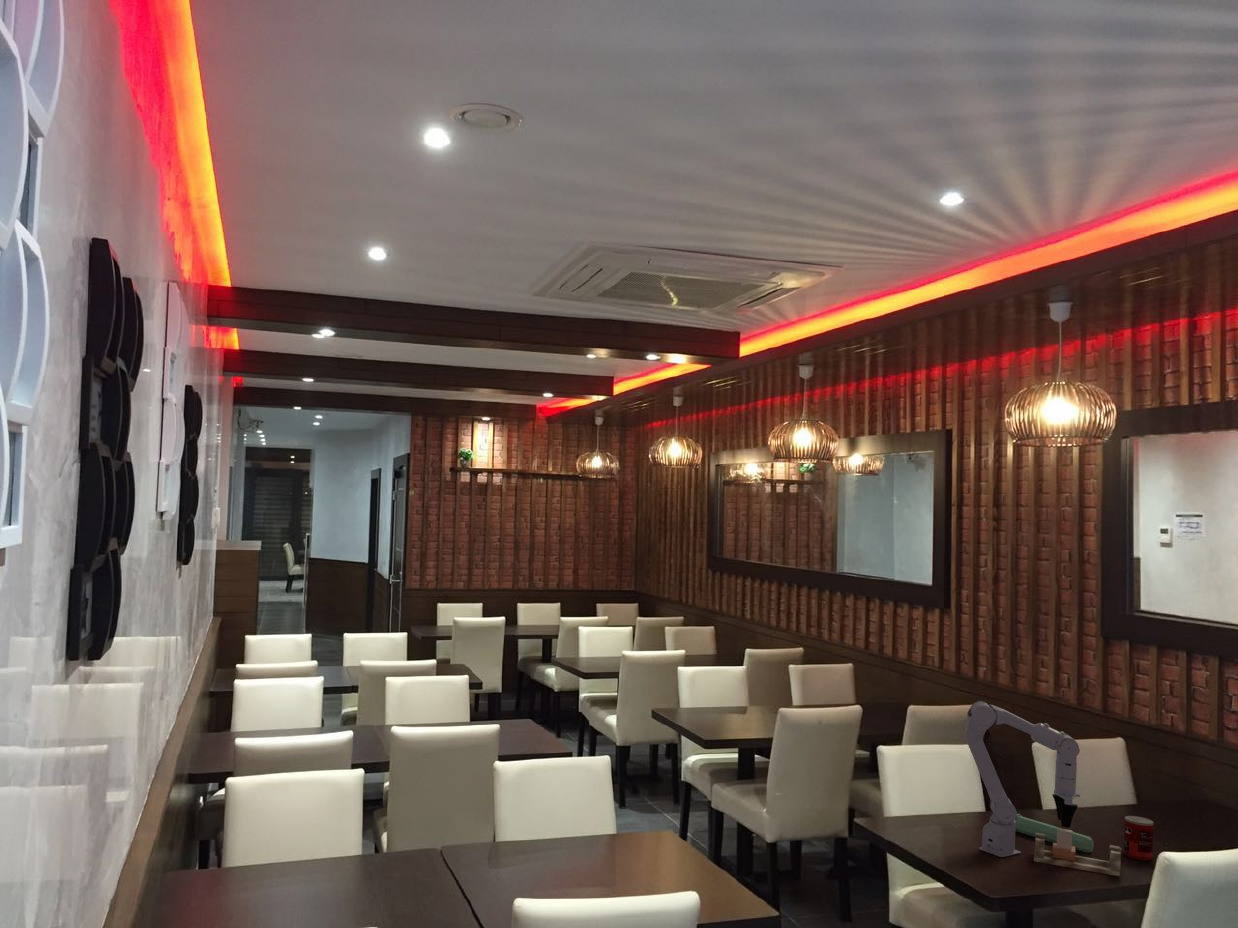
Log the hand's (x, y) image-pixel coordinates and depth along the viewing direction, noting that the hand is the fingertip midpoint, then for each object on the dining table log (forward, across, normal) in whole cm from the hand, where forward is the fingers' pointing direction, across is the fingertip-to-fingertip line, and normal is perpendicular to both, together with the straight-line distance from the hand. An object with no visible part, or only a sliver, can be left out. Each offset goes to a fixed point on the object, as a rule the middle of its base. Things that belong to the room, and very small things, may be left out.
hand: (1063, 823), depth 302 cm
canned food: (+10, +14, -23) cm, 29 cm away
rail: (+10, -4, -3) cm, 12 cm away
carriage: (+9, -3, 0) cm, 9 cm away
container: (+11, +18, 0) cm, 21 cm away
